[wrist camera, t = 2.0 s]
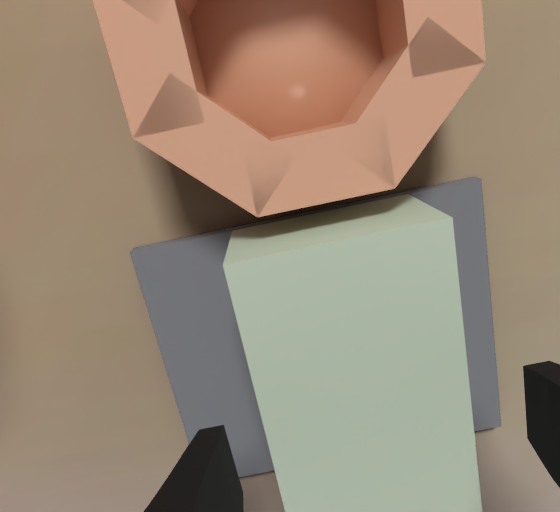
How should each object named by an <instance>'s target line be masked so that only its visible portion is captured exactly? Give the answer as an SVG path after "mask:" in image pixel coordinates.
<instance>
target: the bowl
mask: <svg viewBox="0 0 560 512" xmlns="http://www.w3.org/2000/svg"><path fill="white" fill-rule="evenodd" d="M93 2H94V5H95V9H96V12H97V16H98V19H99V23H100V26H101V30H102V33H103V37H104V40H105V44H106V47H107V51H108V54H109V58H110V61H111V65H112V68H113V72H114V75H115V78H116V82H117V85H118V89H119V92H120V96H121V99H122V103H123V106H124V110H125V113H126V117H127V120H128V124H129V127H130V131H131V134H132V138H133V139H135V140H136V141H138V142H139V143H141V144H142V145H144V146H146V147H147V148H149V149H150V150H152V151H154V152H155V153H157V154H158V155H160V156H161V157H163V158H165V159H166V160H168V161H169V162H171V163H172V164H174V165H176V166H177V167H179V168H180V169H182V170H183V171H185V172H187V173H188V174H190V175H191V176H193V177H195V178H196V179H198V180H199V181H201V182H202V183H204V184H206V185H207V186H209V187H210V188H212V189H213V190H215V191H217V192H218V193H220V194H221V195H223V196H224V197H226V198H228V199H229V200H231V201H232V202H234V203H235V204H237V205H239V206H240V207H242V208H243V209H245V210H247V211H248V212H250V213H251V214H253V215H254V216H256V217H262V216H267V215H271V214H276V213H281V212H286V211H290V210H295V209H300V208H305V207H310V206H314V205H319V204H324V203H329V202H333V201H338V200H343V199H348V198H353V197H357V196H362V195H367V194H372V193H376V192H381V191H386V190H391V189H395V188H396V187H397V185H398V184H399V182H400V181H401V180H402V178H403V177H404V175H405V174H406V173H407V171H408V170H409V169H410V167H411V166H412V164H413V163H414V162H415V160H416V159H417V157H418V156H419V155H420V153H421V152H422V151H423V149H424V148H425V146H426V145H427V144H428V142H429V141H430V139H431V138H432V137H433V135H434V134H435V132H436V131H437V130H438V128H439V127H440V126H441V124H442V123H443V121H444V120H445V119H446V117H447V116H448V114H449V113H450V112H451V110H452V109H453V107H454V106H455V105H456V103H457V102H458V101H459V99H460V98H461V96H462V95H463V94H464V92H465V91H466V89H467V88H468V87H469V85H470V84H471V82H472V81H473V80H474V78H475V77H476V76H477V74H478V73H479V71H480V70H481V69H482V67H483V66H484V64H485V63H486V55H485V42H484V28H483V14H482V1H481V0H93Z"/></svg>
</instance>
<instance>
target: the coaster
mask: <svg viewBox="0 0 560 512" xmlns="http://www.w3.org/2000/svg"><path fill="white" fill-rule="evenodd" d="M406 194H409V195H411V196H413V197H415V198H417V199H419V200H420V201H422V202H424V203H426V204H428V205H430V206H432V207H434V208H436V209H437V210H439V211H441V212H443V213H445V214H447V215H449V216H451V217H453V227H454V237H455V247H456V257H457V266H458V276H459V286H460V296H461V306H462V316H463V326H464V336H465V346H466V355H467V365H468V375H469V385H470V395H471V405H472V415H473V425H474V431H480V430H485V429H490V428H495V427H500V426H501V416H500V403H499V391H498V379H497V366H496V354H495V342H494V329H493V317H492V305H491V292H490V280H489V268H488V255H487V243H486V231H485V218H484V206H483V194H482V181H481V179H480V178H476V177H471V178H466V179H462V180H457V181H452V182H447V183H442V184H438V185H433V186H428V187H423V188H419V189H414V190H409V191H404V192H399V193H395V194H390V195H385V196H380V197H375V198H371V199H366V200H361V201H356V202H352V203H347V204H342V205H337V206H332V207H328V208H323V209H318V210H313V211H308V212H304V213H299V214H294V215H289V216H285V217H280V218H275V219H270V220H265V221H261V222H256V223H251V224H246V225H241V226H237V227H232V228H227V229H222V230H217V231H213V232H208V233H203V234H198V235H194V236H189V237H184V238H179V239H174V240H170V241H165V242H160V243H155V244H150V245H146V246H141V247H136V248H133V249H132V250H131V251H130V255H131V258H132V261H133V264H134V268H135V271H136V274H137V277H138V280H139V284H140V287H141V290H142V293H143V297H144V300H145V303H146V306H147V309H148V313H149V316H150V319H151V322H152V326H153V329H154V332H155V335H156V338H157V342H158V345H159V348H160V351H161V355H162V358H163V361H164V364H165V367H166V371H167V374H168V377H169V380H170V384H171V387H172V390H173V393H174V396H175V400H176V403H177V406H178V409H179V413H180V416H181V419H182V422H183V425H184V429H185V432H186V435H187V438H188V442H189V444H190V442H191V441H192V439H193V438H194V436H195V435H196V433H197V432H198V430H199V429H204V428H209V427H215V426H220V425H224V427H225V431H226V434H227V438H228V441H229V445H230V448H231V452H232V455H233V459H234V462H235V466H236V470H237V473H238V477H244V476H249V475H254V474H259V473H264V472H269V471H275V470H274V466H273V462H272V458H271V454H270V450H269V446H268V442H267V438H266V434H265V430H264V426H263V422H262V418H261V414H260V410H259V406H258V402H257V398H256V395H255V391H254V387H253V383H252V379H251V375H250V371H249V367H248V363H247V359H246V355H245V351H244V347H243V343H242V339H241V335H240V331H239V327H238V323H237V319H236V315H235V312H234V308H233V304H232V300H231V296H230V292H229V288H228V284H227V280H226V276H225V272H224V268H223V262H224V259H225V255H226V251H227V248H228V244H229V241H230V237H231V233H232V231H234V230H239V229H243V228H248V227H253V226H258V225H263V224H267V223H272V222H277V221H282V220H287V219H291V218H296V217H301V216H306V215H311V214H315V213H320V212H325V211H330V210H334V209H339V208H344V207H349V206H354V205H358V204H363V203H368V202H373V201H378V200H382V199H387V198H392V197H397V196H402V195H406Z"/></svg>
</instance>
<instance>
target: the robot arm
mask: <svg viewBox="0 0 560 512" xmlns="http://www.w3.org/2000/svg"><path fill="white" fill-rule="evenodd" d="M523 370H524V386H525V403H526V420H527V437H528V440H529V441H530V443H531V445H532V446H533V448H534V450H535V451H536V453H537V455H538V456H539V458H540V460H541V461H542V463H543V464H544V466H545V467H546V469H547V471H548V472H549V474H550V475H551V477H552V478H553V480H554V481H555V482H556V483H557V485H558V486H559V487H560V365H559V364H557V363H554V362H551V361H546V362H541V363H536V364H531V365H526V366H523ZM144 512H244V511H243V491H242V487H241V484H240V480H239V477H238V473H237V470H236V466H235V462H234V459H233V455H232V452H231V448H230V445H229V441H228V438H227V434H226V431H225V427H224V425H220V426H215V427H209V428H204V429H199V430H198V432H197V433H196V435H195V436H194V438H193V439H192V441H191V442H190V444H189V445H188V447H187V448H186V450H185V452H184V453H183V455H182V456H181V458H180V459H179V461H178V462H177V464H176V466H175V467H174V469H173V470H172V472H171V473H170V475H169V476H168V478H167V479H166V481H165V482H164V484H163V485H162V486H161V488H160V489H159V491H158V492H157V494H156V495H155V497H154V498H153V500H152V501H151V502H150V504H149V505H148V507H147V508H146V509H145V511H144Z"/></svg>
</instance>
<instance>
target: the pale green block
mask: <svg viewBox="0 0 560 512" xmlns="http://www.w3.org/2000/svg"><path fill="white" fill-rule="evenodd" d="M223 268H224V272H225V276H226V280H227V284H228V288H229V292H230V296H231V300H232V304H233V308H234V312H235V315H236V319H237V323H238V327H239V331H240V335H241V339H242V343H243V347H244V351H245V355H246V359H247V363H248V367H249V371H250V375H251V379H252V383H253V387H254V391H255V395H256V398H257V402H258V406H259V410H260V414H261V418H262V422H263V426H264V430H265V434H266V438H267V442H268V446H269V450H270V454H271V458H272V462H273V466H274V470H275V474H276V478H277V482H278V485H279V489H280V493H281V497H282V501H283V505H284V509H285V512H482V504H481V494H480V484H479V474H478V464H477V454H476V444H475V435H474V425H473V415H472V405H471V395H470V385H469V375H468V365H467V355H466V346H465V336H464V326H463V316H462V306H461V296H460V286H459V276H458V266H457V257H456V247H455V237H454V227H453V217H451V216H449V215H447V214H445V213H443V212H441V211H439V210H437V209H436V208H434V207H432V206H430V205H428V204H426V203H424V202H422V201H420V200H419V199H417V198H415V197H413V196H411V195H409V194H406V195H402V196H397V197H392V198H387V199H382V200H378V201H373V202H368V203H363V204H358V205H354V206H349V207H344V208H339V209H334V210H330V211H325V212H320V213H315V214H311V215H306V216H301V217H296V218H291V219H287V220H282V221H277V222H272V223H267V224H263V225H258V226H253V227H248V228H243V229H239V230H234V231H232V233H231V237H230V241H229V244H228V248H227V251H226V255H225V259H224V262H223Z"/></svg>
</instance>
